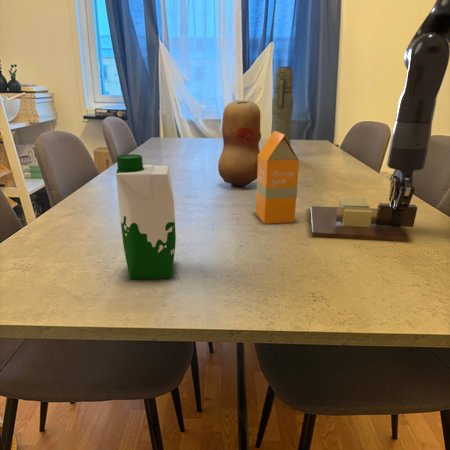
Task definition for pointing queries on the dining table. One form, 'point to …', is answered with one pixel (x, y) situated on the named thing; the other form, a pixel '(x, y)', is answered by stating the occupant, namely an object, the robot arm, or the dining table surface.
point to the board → (350, 227)
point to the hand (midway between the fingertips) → (394, 224)
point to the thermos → (282, 101)
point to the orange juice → (277, 181)
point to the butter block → (353, 202)
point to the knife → (383, 214)
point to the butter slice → (357, 218)
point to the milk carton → (146, 217)
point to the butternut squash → (240, 143)
